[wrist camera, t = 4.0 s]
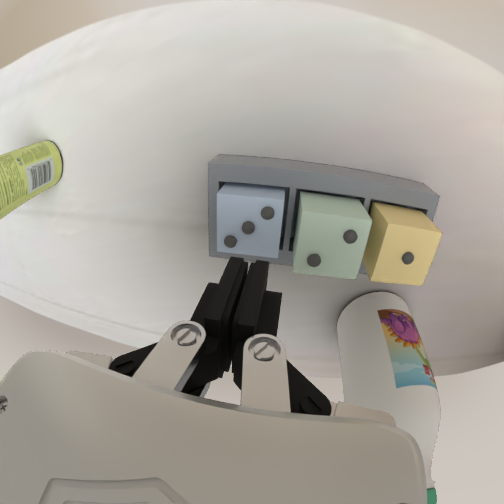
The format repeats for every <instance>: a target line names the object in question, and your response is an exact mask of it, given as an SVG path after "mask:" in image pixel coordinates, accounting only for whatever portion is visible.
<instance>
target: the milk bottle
mask: <svg viewBox="0 0 504 504" xmlns="http://www.w3.org/2000/svg"><path fill="white" fill-rule="evenodd" d="M337 337H338V345H339V354H340V363H341V372H342V382H343V392H344V403H348V404H352V405H356V406H361V407H365V408H370V409H375V410H380V411H384V412H387V413H389V414H390V415H391V416H392V417H393V418H394V420H395V422H396V427H398V428H400V429H402V430H404V431H406V432H407V433H409V434H410V435H412V437H413V438H414V439H415V440H416V442H417V443H418V445H419V448H420V450H421V454H422V457H423V462H424V468H425V475H426V486H427V504H436V502H437V499H436V498H437V495H436V490H435V488H434V483H435V481H432V479H431V464H432V457H433V452H434V447H435V443H436V439H437V435H438V431H439V426H440V417H441V413H440V412H441V409H440V401H439V395H438V391H437V387H436V383H435V380H434V376H433V373H432V370H431V367H430V363H429V360H428V357H427V355H426V352H425V349H424V346H423V343H422V341H421V338H420V335H419V333H418V330H417V328H416V325H415V323H414V320H413V318H412V316H411V313H410V311H409V309H408V307H407V305H406V303H405V302H404V300H403V299H401V298H400V297H399V296H397V295H395V294H393V293H389V292H382V291H381V292H372V293H368V294H365V295H363V296H360V297H358V298H357V299H355V300H353V301H352V302H351V303H350V304H348V305H347V306H346V308H345V309H344V310H343V311H342V313H341V315H340V317H339V319H338V322H337Z"/></svg>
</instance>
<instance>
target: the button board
mask: <svg viewBox="0 0 504 504" xmlns="http://www.w3.org/2000/svg"><path fill="white" fill-rule="evenodd" d="M226 182H238V183H250V184H261V185H271V186H281V187H285V198H284V208H283V217H282V226H281V235H280V244H279V252H278V258H270V257H261V256H253V255H244V254H235V253H226V252H218V251H217V193H218V192H219V190H220V189H221V188H222V187H223V185H224V184H225V183H226ZM300 191H302V192H310V193H318V194H325V195H332V196H339V197H346V198H353V199H359V200H360V202H361V203H362V205H363V207H364V208H365V210H366V211H367V213H368V214H369V215H370V211H371V206H372V202H377V203H383V204H388V205H394V206H399V207H404V208H410V209H415V210H419V211H422V212H423V213H424V214H425V215H426V216H427V217H428V218H429V219H430V220H431V221H433V218H434V215H435V211H436V208H437V204H438V201H439V197H440V196H439V195H438V194H437V193H435V192H434V191H433V190H431V189H430V188H429V187H427V186H426V185H425V184H423V183H420V182H415V181H411V180H407V179H402V178H398V177H393V176H389V175H384V174H379V173H374V172H368V171H363V170H357V169H351V168H345V167H339V166H333V165H326V164H319V163H311V162H304V161H295V160H286V159H276V158H266V157H254V156H239V155H221V154H219V155H218V156H217V157H215V158H214V159H213V160H211V161H210V162H209V163H208V217H209V256H212V257H220V258H228V259H230V257H231V256H233V257H240V258H244V260H245V261H254V262H256V260H263V261H269V263H272V264H280V265H289V266H293V242H294V235H295V228H296V221H297V213H298V206H299V198H300ZM358 273H363V274H368V273H367V270H366V268H365V265H364V262H363V260H362V261H361V265H360V268H359V271H358Z"/></svg>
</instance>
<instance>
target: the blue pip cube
mask: <svg viewBox="0 0 504 504" xmlns="http://www.w3.org/2000/svg"><path fill="white" fill-rule="evenodd" d="M284 198H285V187H281V186H271V185H261V184H250V183H238V182H226V183H225V184H224V185H223V187H222V188H221V189H220V190H219V192H218V193H217V251H218V252H226V253H235V254H244V255H253V256H261V257H270V258H278V252H279V244H280V235H281V226H282V217H283V208H284Z"/></svg>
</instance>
